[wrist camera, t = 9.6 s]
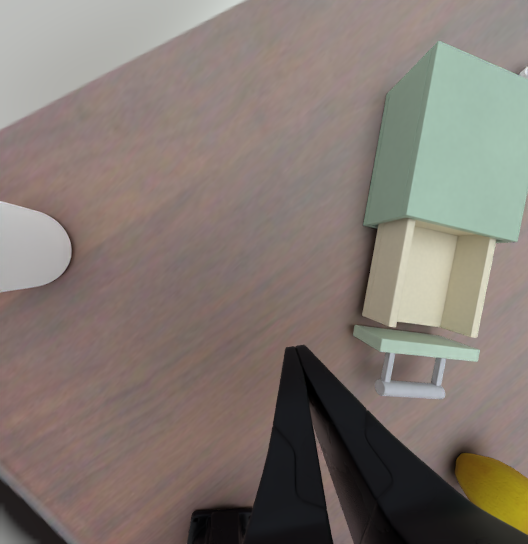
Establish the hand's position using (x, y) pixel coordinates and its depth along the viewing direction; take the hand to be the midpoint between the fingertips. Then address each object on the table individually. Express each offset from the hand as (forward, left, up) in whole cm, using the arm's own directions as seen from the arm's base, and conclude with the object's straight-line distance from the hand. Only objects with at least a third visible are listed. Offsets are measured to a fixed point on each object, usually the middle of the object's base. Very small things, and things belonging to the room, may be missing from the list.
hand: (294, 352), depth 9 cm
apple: (-17, -30, -13) cm, 37 cm away
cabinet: (+17, -16, -12) cm, 26 cm away
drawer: (+2, -16, -12) cm, 20 cm away
